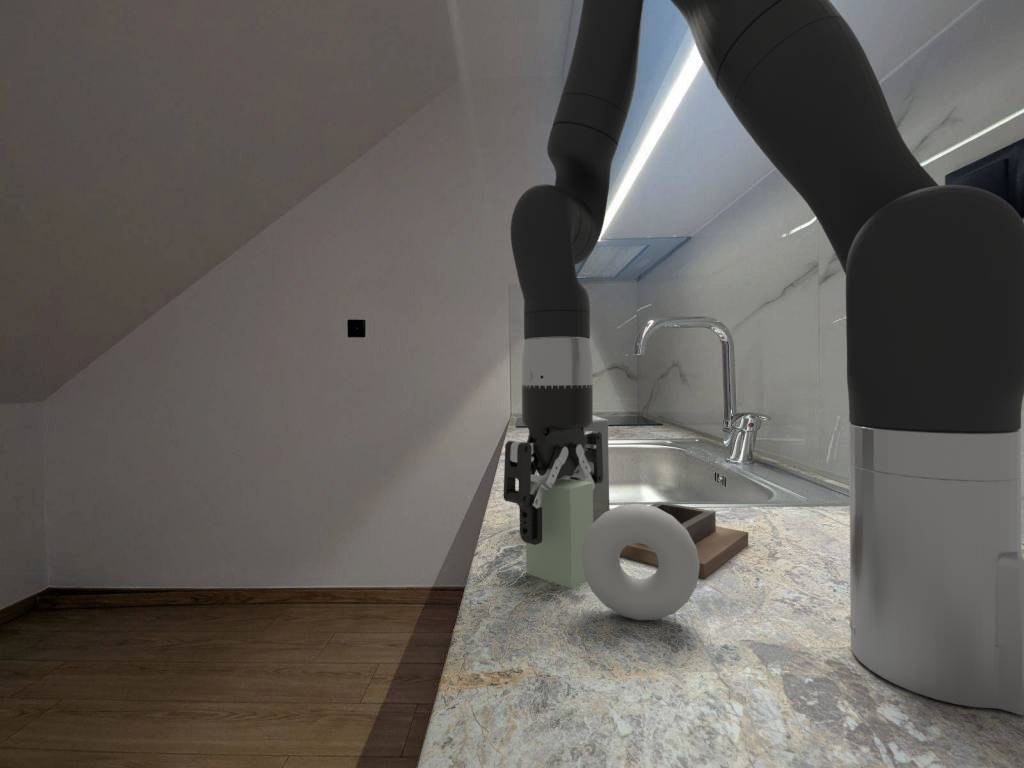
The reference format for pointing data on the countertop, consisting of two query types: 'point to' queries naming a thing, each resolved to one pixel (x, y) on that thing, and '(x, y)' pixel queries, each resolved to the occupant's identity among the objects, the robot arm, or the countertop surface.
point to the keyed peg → (562, 533)
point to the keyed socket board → (696, 539)
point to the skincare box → (603, 488)
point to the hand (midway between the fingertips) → (557, 532)
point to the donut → (633, 594)
